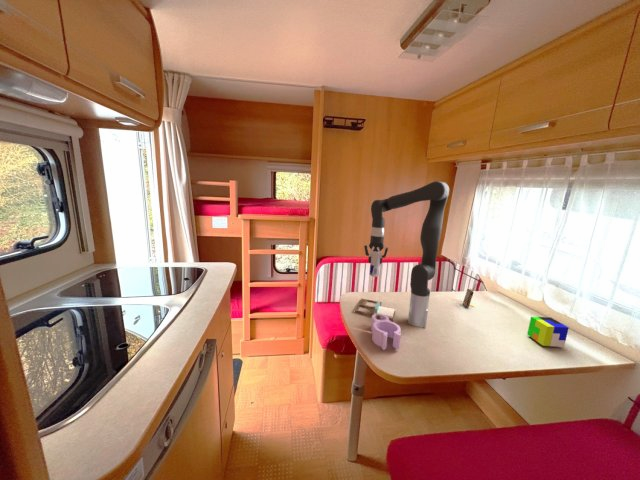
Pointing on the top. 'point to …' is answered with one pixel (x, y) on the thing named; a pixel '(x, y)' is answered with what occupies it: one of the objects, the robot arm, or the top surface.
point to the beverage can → (375, 264)
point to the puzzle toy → (547, 331)
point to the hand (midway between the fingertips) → (374, 263)
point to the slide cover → (383, 310)
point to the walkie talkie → (468, 298)
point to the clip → (385, 331)
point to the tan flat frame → (362, 304)
